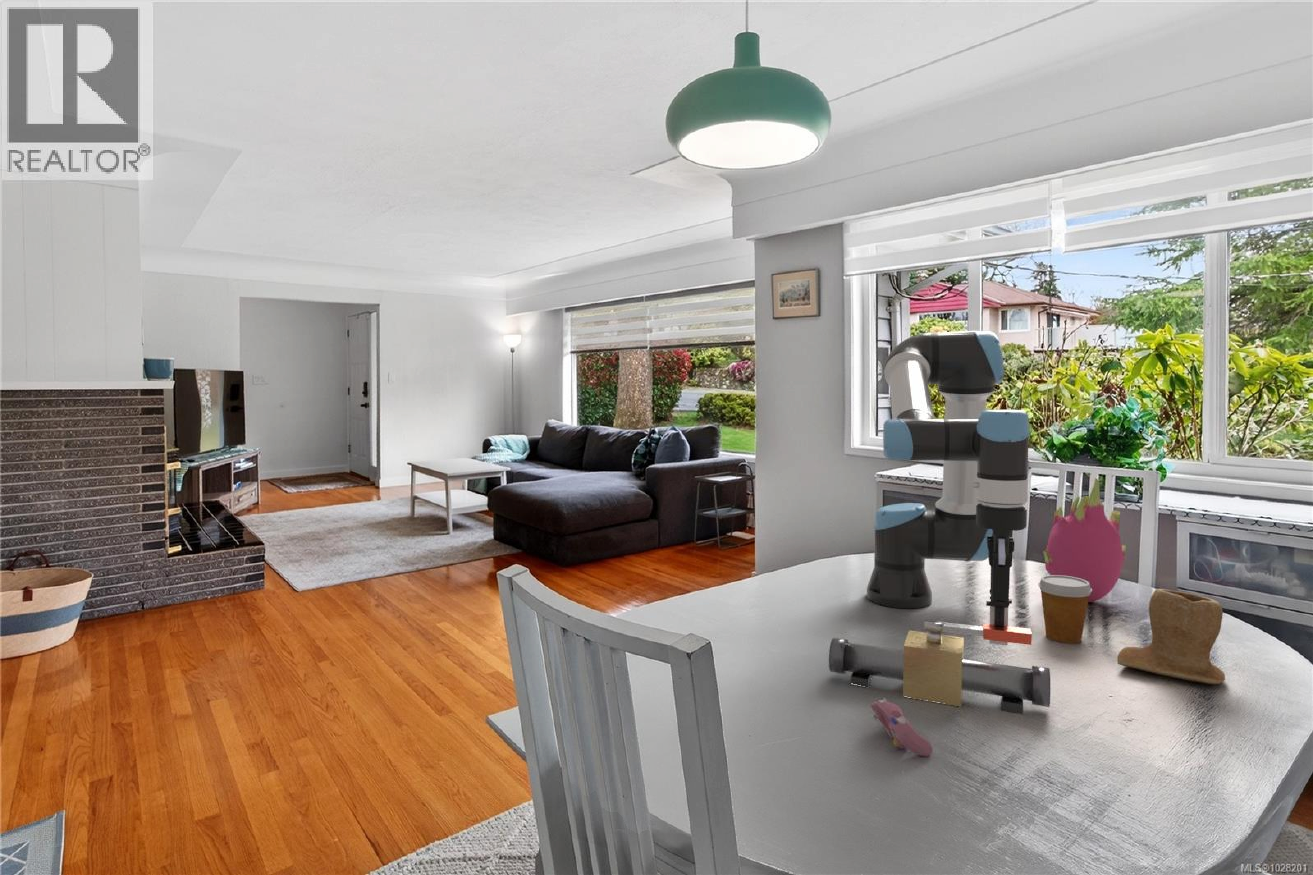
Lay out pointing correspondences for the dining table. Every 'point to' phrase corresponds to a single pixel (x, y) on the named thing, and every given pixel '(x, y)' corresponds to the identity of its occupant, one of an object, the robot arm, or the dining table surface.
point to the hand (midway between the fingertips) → (998, 642)
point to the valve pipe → (940, 671)
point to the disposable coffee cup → (1064, 606)
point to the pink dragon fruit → (1086, 545)
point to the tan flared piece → (1179, 638)
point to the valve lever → (982, 631)
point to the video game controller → (900, 728)
